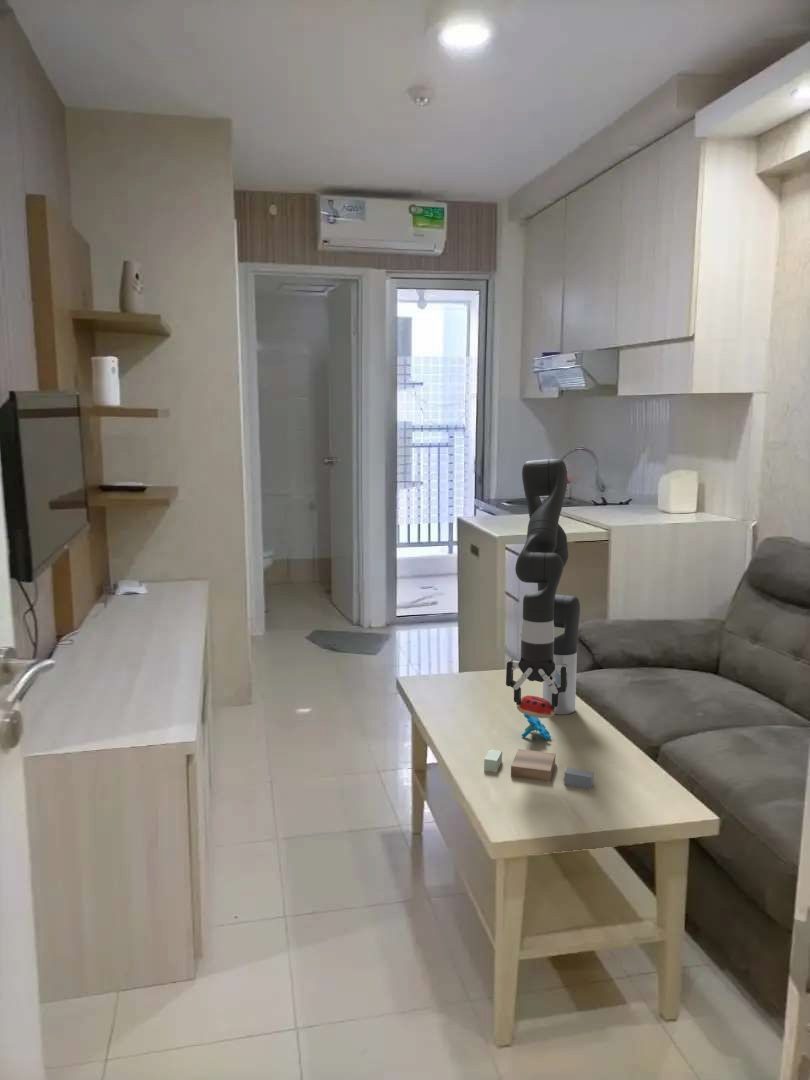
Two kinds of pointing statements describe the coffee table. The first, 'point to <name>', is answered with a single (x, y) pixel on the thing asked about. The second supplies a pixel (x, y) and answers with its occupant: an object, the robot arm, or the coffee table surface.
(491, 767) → the sage brick
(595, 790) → the coffee table surface
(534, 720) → the gear
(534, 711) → the ladybug figurine
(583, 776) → the slate brick
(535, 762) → the walnut block
